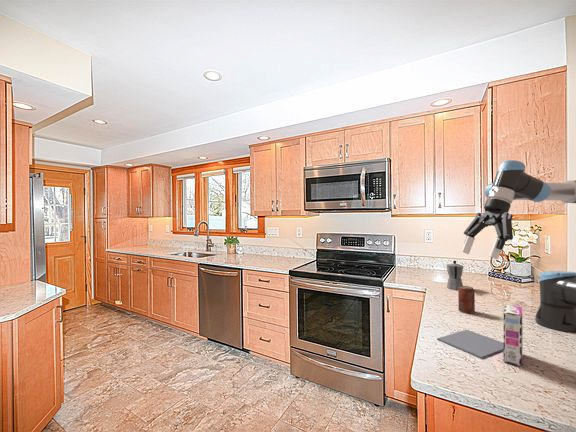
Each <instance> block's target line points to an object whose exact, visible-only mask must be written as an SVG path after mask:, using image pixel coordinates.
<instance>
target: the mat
mask: <svg viewBox="0 0 576 432" xmlns="http://www.w3.org/2000/svg"><path fill="white" fill-rule="evenodd" d="M436 340H437V341H439V342H442V343H443V342H444V343H443V344H446V345H449V346H451V347H452V348H456V349H457V348H458V350H460V351H462V352H464V353H467V354H469V355H471V356H474V357H476V358H479V359H484V358H487V357H490V356H493V355H495V354H497V353H501V352H504V341H500V340H497V339H494V338H491V337H488V336H486V335H482V334H480V333H477V332H474V331H473V330H469V329H465V330H464V329H463V330H461V331H457V332H455V333H454V332H453V333H452V334H451V333H450V334H447V335H443V336H440V337H437V339H436Z"/></svg>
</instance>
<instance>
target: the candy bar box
mask: <svg viewBox="0 0 576 432" xmlns="http://www.w3.org/2000/svg"><path fill="white" fill-rule="evenodd" d="M503 309H504V310H503V343H504V351H503V360H502V361H503V362H504V363H506V364H510V365H513V366H518V367H522V365H523V342H524V341H523V339H524V338H523V334H524V333H523V325H524V323H523V307H522V306H517V305H511V304H510V305H509V304H505V305H504V308H503Z"/></svg>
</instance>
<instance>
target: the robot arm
mask: <svg viewBox="0 0 576 432" xmlns="http://www.w3.org/2000/svg"><path fill="white" fill-rule="evenodd" d="M525 170H526V165H525V164H524V163H523V162H522V161H518V160H514V159H510V160H508V159H507V160H504V161H502V162H501V163H500V165H499V167H498V170H496V173H495V177H494V179H493V182H492V183H489V184H488V185H487V186H486V187H485V189H484V194H485V197H486V198H487V199H486V200H485V203H484V206H483V209H484V212H483V213H481V212H476V213H477V214H476V215H475V217H474V219H473V220H472V221H471V222H470V224H469V225H468V226H467V228H465V230H464V231H463V235H465V236H466V238H465V239H464V243H463V246H462V249H461V252H462V253H464V254H467V255H470V253H471V250H472V247H473V244H474V242H475V240H476V238H475V237H476V236H477V235H478V234H479V233H481V232H482V231H483V230H484V229H485V228H487V227H491V226H494V229H495V232H496V235H497V237H496V238H495V240H494V242H493V244H492V248H491V250H490V252H489V256H488V257H490V258H492V259H494V260H499V256H500V254H501V252H502V250H503V249H504V247H505V244H506V242H507V241H512V240H514V234H513V222H512V221H513V217H514V215H513V214H511V213H510V212H509V211H510V208H511V206H512V205H511V204H512V203H513V201H532V202H535V203H541V202H543V201H560V202H562V203H564V204H576V179H575V180H565V181H563V182H545V181H544V180H541V179H539V178H537V177H534V176H532V175H530V174H528V173H526V172H525ZM539 300H540V301H539V302H540V304H539V306H538V309H537V311H536V313H535V316H534V317H535V318H534V319H535V323H536V324H538V325H540V326H542V327H544V328H545V327H546V328H548V329H551V330H557V331H561V332H567V333H568V332H569V333H576V272H574V271H562V270H560V271H559V270H558V271H556V270H555V271H554V270H553V271H551V270H549V271H542V272H541V273H540V276H539Z"/></svg>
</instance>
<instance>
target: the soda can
mask: <svg viewBox="0 0 576 432" xmlns="http://www.w3.org/2000/svg"><path fill="white" fill-rule="evenodd" d="M457 291H458V293H457V294H458V311H459V312H461V313H464V314H470V315H471V314H474V313H475V311H476V309H475V308H476V304H475V301H476V300H475V299H476V297H475V296H476V295H475V293H476V292H475V289H474V287H472V286H469V285H468V286H467V285H463V286H460V287H459V288H458V290H457Z"/></svg>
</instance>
